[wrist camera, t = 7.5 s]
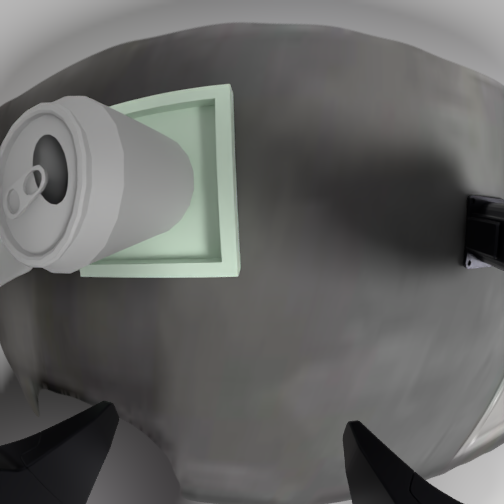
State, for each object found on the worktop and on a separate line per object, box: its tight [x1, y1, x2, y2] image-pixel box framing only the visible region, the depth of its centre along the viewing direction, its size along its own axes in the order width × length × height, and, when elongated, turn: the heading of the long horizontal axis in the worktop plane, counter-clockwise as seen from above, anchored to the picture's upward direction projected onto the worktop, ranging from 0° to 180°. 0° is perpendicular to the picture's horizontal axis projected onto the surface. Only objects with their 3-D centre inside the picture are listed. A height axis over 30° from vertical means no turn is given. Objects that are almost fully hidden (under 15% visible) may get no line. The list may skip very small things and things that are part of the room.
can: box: [0, 96, 194, 273], centre depth 13 cm, size 8×8×12 cm
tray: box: [80, 84, 241, 278], centre depth 18 cm, size 13×13×2 cm
